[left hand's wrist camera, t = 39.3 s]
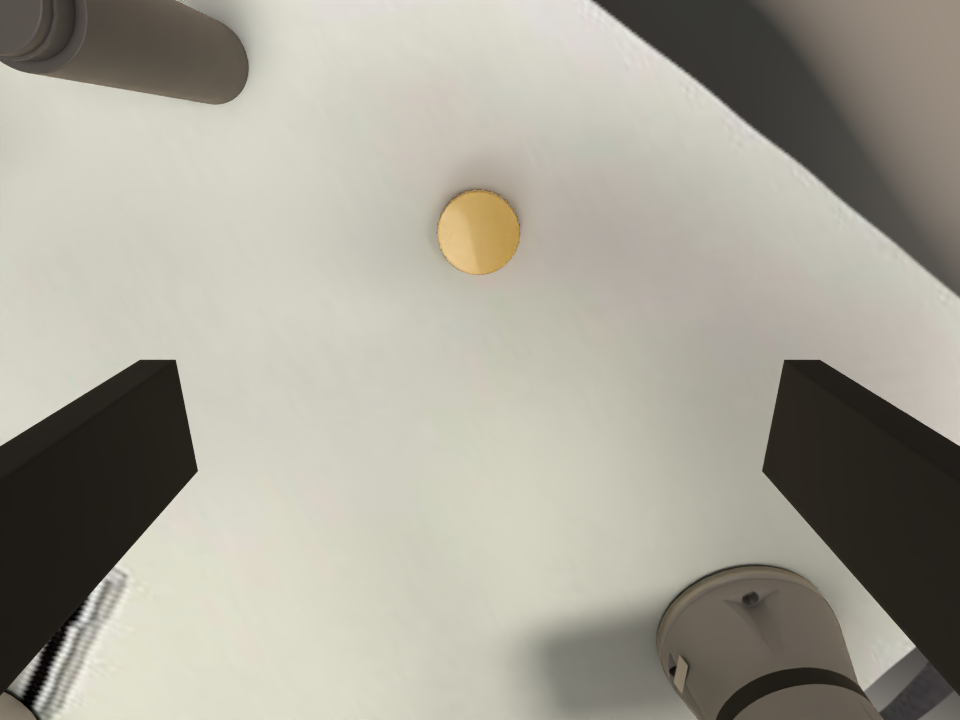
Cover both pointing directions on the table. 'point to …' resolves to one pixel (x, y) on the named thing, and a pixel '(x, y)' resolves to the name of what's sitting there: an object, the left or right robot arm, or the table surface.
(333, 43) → the table surface
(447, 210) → the lid
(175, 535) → the table surface
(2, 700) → the bust sculpture
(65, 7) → the jar
